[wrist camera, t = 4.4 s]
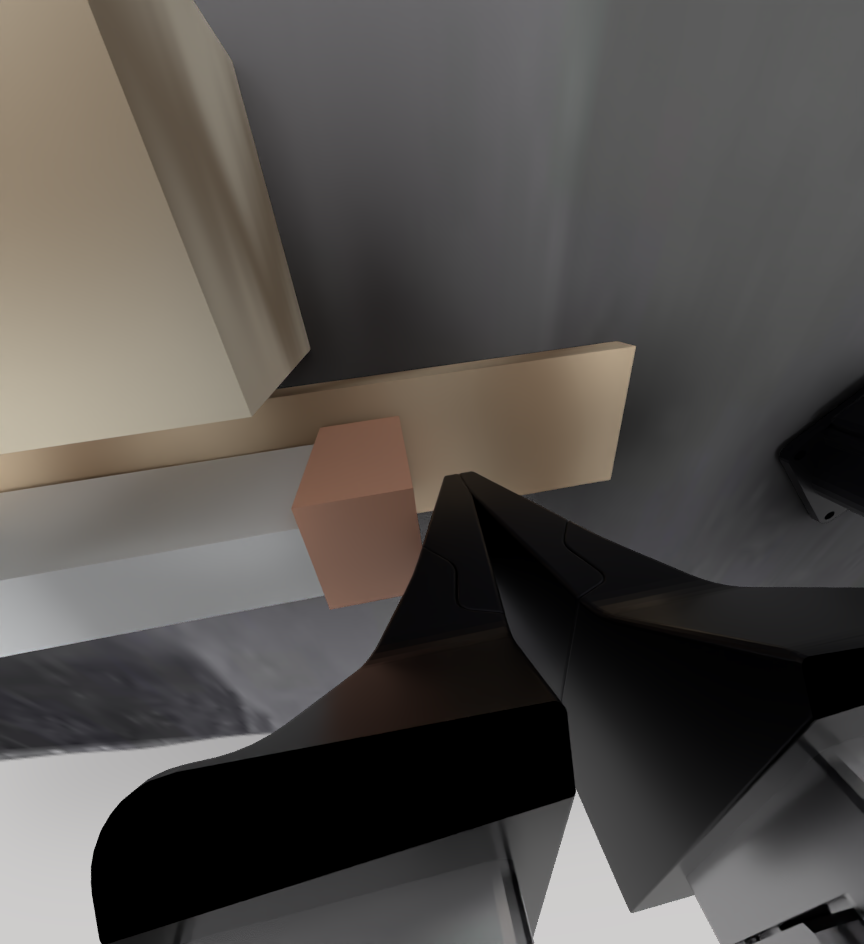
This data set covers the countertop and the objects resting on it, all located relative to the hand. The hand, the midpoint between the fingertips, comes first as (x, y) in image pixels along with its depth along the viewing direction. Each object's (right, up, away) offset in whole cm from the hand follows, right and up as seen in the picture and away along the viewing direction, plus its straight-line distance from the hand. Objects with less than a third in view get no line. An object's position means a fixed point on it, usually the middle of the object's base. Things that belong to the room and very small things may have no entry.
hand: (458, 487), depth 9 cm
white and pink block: (-8, 0, +1) cm, 8 cm away
